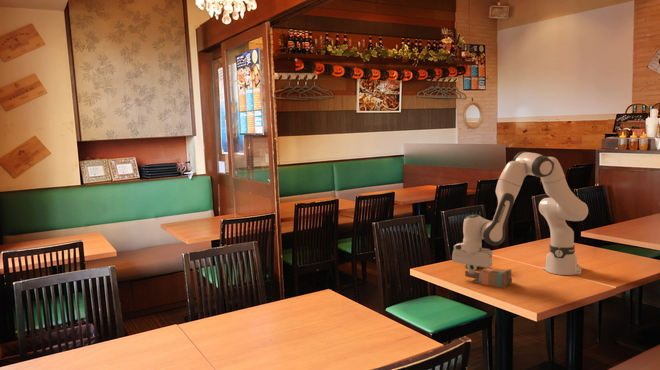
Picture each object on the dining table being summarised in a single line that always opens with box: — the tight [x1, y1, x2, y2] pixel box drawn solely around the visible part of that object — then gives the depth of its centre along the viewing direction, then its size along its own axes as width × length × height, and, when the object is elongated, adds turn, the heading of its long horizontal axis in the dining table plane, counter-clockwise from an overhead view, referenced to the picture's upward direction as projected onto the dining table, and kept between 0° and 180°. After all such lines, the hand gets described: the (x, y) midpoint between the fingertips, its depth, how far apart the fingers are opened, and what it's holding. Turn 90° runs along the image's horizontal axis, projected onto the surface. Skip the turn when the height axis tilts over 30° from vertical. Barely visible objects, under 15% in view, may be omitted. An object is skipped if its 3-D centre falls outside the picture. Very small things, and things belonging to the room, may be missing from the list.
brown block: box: [487, 269, 502, 287], centre depth 252 cm, size 8×4×6 cm, turn 141°
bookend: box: [471, 267, 488, 285], centre depth 256 cm, size 8×5×6 cm, turn 141°
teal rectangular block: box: [494, 270, 506, 288], centre depth 249 cm, size 8×4×6 cm, turn 141°
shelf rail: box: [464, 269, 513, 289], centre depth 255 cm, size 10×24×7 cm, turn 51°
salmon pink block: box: [481, 268, 495, 286], centre depth 254 cm, size 8×4×6 cm, turn 141°
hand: (471, 273), depth 258 cm, fingers closed
